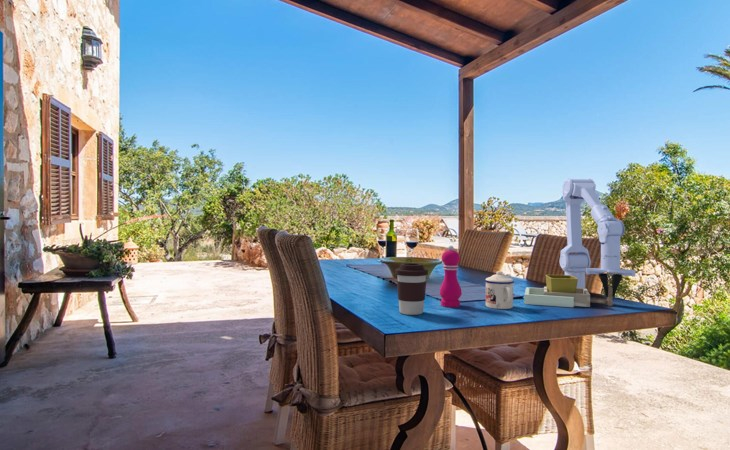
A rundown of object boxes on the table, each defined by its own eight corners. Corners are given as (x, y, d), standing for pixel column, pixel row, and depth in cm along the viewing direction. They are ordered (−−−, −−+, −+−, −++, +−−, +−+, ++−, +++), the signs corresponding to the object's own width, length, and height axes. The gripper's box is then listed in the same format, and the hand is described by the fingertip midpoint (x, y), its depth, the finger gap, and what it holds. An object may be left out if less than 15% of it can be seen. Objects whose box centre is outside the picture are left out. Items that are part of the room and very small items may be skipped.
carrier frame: (543, 297, 166) (544, 280, 166) (608, 301, 159) (608, 284, 159) (543, 303, 153) (544, 286, 153) (614, 308, 146) (614, 290, 146)
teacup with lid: (480, 304, 153) (480, 270, 153) (504, 303, 155) (505, 269, 154) (497, 311, 141) (497, 274, 141) (523, 310, 143) (524, 273, 143)
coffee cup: (401, 317, 133) (401, 266, 133) (390, 310, 143) (391, 262, 142) (432, 315, 136) (433, 265, 136) (420, 308, 145) (420, 262, 145)
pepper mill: (460, 303, 154) (460, 245, 154) (462, 308, 147) (463, 246, 147) (438, 303, 155) (439, 244, 154) (440, 307, 148) (440, 246, 147)
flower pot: (578, 305, 152) (578, 278, 152) (550, 304, 154) (550, 277, 154) (570, 300, 161) (571, 275, 161) (544, 299, 162) (545, 274, 162)
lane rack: (526, 295, 170) (526, 287, 170) (570, 298, 165) (570, 289, 165) (524, 304, 154) (524, 294, 154) (573, 307, 149) (573, 297, 148)
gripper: (587, 256, 151) (586, 297, 151) (637, 258, 146) (636, 300, 146) (585, 254, 158) (585, 293, 158) (633, 256, 152) (632, 296, 153)
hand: (609, 296), depth 152 cm, fingers closed
